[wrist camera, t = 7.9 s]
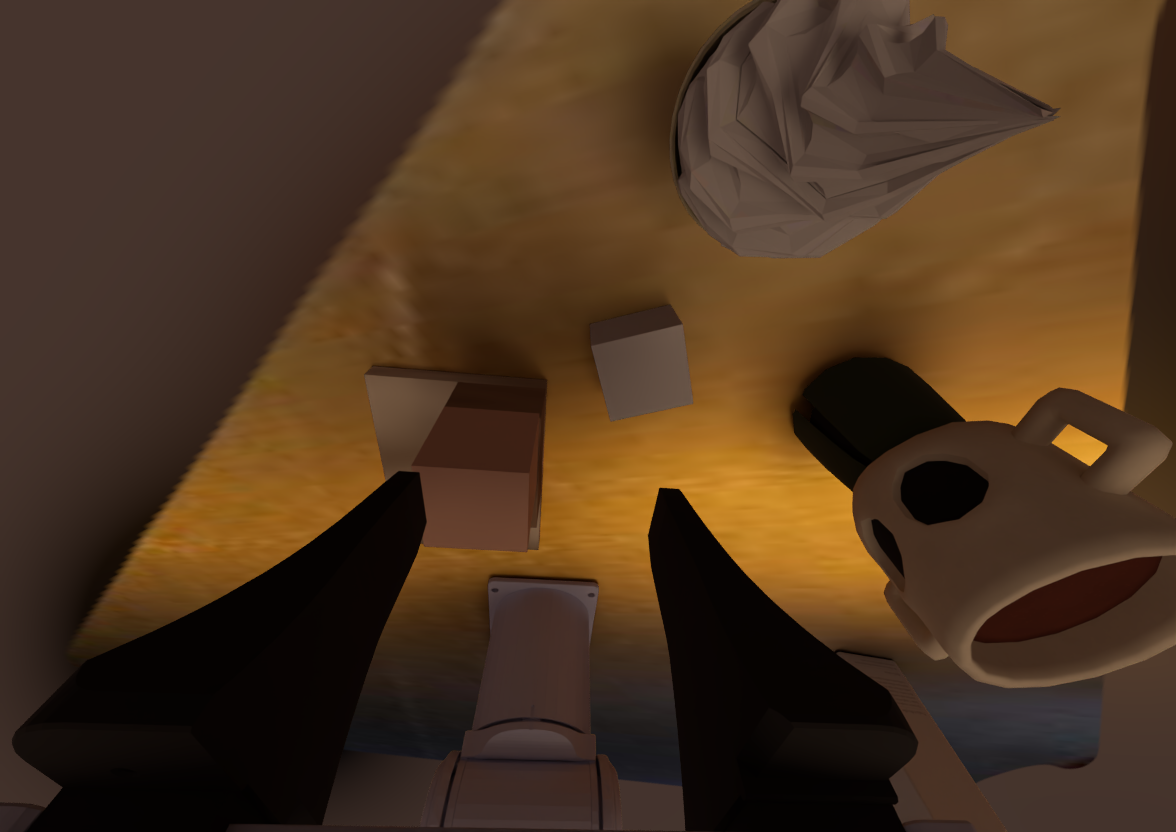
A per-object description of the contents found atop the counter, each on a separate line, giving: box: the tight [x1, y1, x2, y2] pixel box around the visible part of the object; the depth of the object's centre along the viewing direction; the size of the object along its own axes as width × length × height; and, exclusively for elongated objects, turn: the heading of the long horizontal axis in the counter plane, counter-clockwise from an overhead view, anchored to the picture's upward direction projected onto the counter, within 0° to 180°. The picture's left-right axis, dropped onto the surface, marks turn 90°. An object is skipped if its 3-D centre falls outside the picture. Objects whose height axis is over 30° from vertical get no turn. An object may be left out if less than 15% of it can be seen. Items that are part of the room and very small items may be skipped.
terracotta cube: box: [411, 406, 539, 552], centre depth 18 cm, size 4×4×4 cm
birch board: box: [364, 366, 547, 550], centre depth 25 cm, size 12×9×1 cm
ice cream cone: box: [670, 0, 1061, 258], centre depth 10 cm, size 5×5×15 cm
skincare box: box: [836, 652, 1007, 832], centre depth 32 cm, size 6×4×12 cm
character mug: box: [793, 358, 1176, 688], centre depth 18 cm, size 11×7×13 cm, turn 171°
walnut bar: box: [445, 382, 546, 528], centre depth 22 cm, size 7×4×3 cm, turn 175°
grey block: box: [590, 305, 693, 421], centre depth 20 cm, size 4×4×3 cm
